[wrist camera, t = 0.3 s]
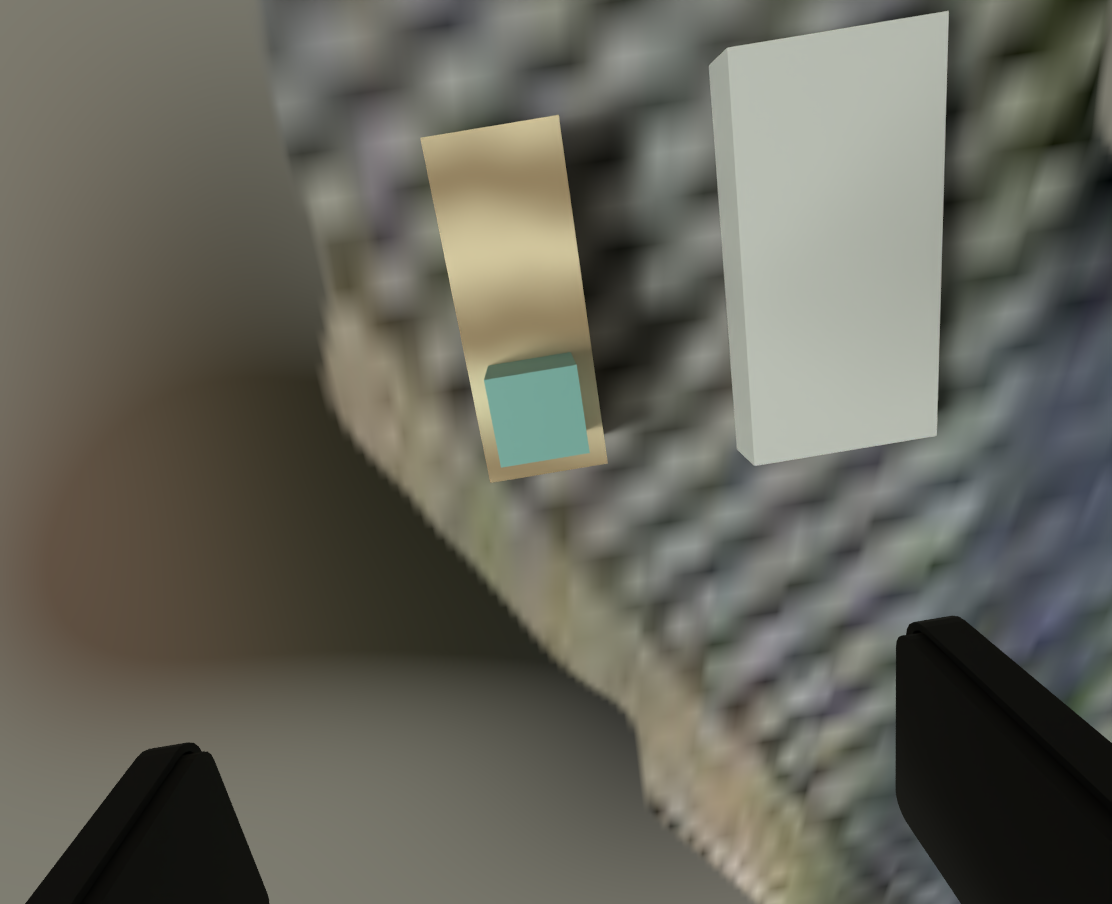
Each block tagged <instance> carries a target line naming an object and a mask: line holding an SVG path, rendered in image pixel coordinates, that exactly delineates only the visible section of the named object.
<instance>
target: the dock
mask: <svg viewBox="0 0 1112 904" xmlns="http://www.w3.org/2000/svg"><path fill="white" fill-rule="evenodd" d="M948 21H949V11H945V12H939V13H933V14H927V15H921V16H915V17H909V18H903V19H897V20H891V21H885V22H879V23H873V24H867V25H861V26H855V27H849V28H843V29H837V30H831V31H825V32H819V33H813V34H807V35H801V36H795V37H789V38H783V39H777V40H771V41H765V42H759V43H753V44H747V45H741V46H735V47H729V48H726V49H725V50H724V51H723V52H722V53H721V54H720V55H719V56H718V57H717V58H716V59H715V60H714V61H713V62H712V63H711V64H710V65H709V77H710V91H711V104H712V118H713V131H714V145H715V158H716V172H717V186H718V199H719V213H720V226H721V240H722V253H723V267H724V281H725V294H726V308H727V321H728V335H729V348H730V362H731V376H732V389H733V403H734V416H735V430H736V443H737V450H738V451H739V452H740V453H741V454H742V455H743V456H745V457H746V458H747V459H748V460H749V461H750V462H751V463H752V464H753V465H754V466H757V465H763V464H769V463H775V462H781V461H787V460H793V459H799V458H805V457H811V456H817V455H823V454H829V453H836V452H842V451H848V450H854V449H860V448H866V447H872V446H878V445H884V444H890V443H896V442H902V441H908V440H914V439H920V438H926V437H932V436H937V409H938V374H939V339H940V303H941V268H942V233H943V198H944V162H945V127H946V92H947V56H948Z"/></svg>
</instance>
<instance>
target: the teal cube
mask: <svg viewBox="0 0 1112 904" xmlns="http://www.w3.org/2000/svg"><path fill="white" fill-rule="evenodd" d="M484 383H485V389H486V394H487V399H488V404H489V409H490V414H491V419H492V424H493V429H494V434H495V440H496V445H497V450H498V455H499V460H500V465H501V468H502V467H508V466H514V465H521V464H527V463H533V462H539V461H545V460H551V459H557V458H563V457H569V456H575V455H581V454H587V453H590V451H589V444H588V437H587V431H586V424H585V417H584V411H583V404H582V397H581V391H580V384H579V377H578V370H577V364H576V362H575V360H574V358H573V356H572V354H571V352H567V353H561V354H555V355H549V356H543V357H537V358H531V359H525V360H519V361H513V362H507V363H501V364H495V365H489V366H488V368H487V371H486V375H485V378H484Z"/></svg>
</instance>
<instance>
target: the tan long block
mask: <svg viewBox="0 0 1112 904" xmlns="http://www.w3.org/2000/svg"><path fill="white" fill-rule="evenodd" d="M421 143H422V148H423V153H424V158H425V163H426V168H427V173H428V177H429V182H430V187H431V192H432V197H433V202H434V207H435V212H436V217H437V222H438V227H439V232H440V237H441V241H442V246H443V251H444V256H445V261H446V266H447V271H448V276H449V281H450V286H451V291H452V296H453V301H454V305H455V310H456V315H457V320H458V325H459V330H460V335H461V340H462V345H463V350H464V355H465V360H466V365H467V369H468V374H469V379H470V384H471V389H472V394H473V399H474V404H475V409H476V414H477V419H478V424H479V429H480V433H481V438H482V443H483V448H484V453H485V458H486V463H487V468H488V473H489V478H490V483H492V482H498V481H504V480H510V479H516V478H522V477H528V476H534V475H540V474H546V473H552V472H558V471H564V470H570V469H576V468H582V467H588V466H594V465H600V464H606V463H608V462H607V455H606V448H605V441H604V434H603V427H602V420H601V413H600V405H599V398H598V391H597V384H596V377H595V370H594V363H593V356H592V349H591V342H590V334H589V327H588V320H587V313H586V306H585V299H584V292H583V285H582V278H581V271H580V264H579V256H578V249H577V242H576V235H575V228H574V221H573V214H572V207H571V200H570V193H569V185H568V178H567V171H566V164H565V157H564V150H563V143H562V136H561V129H560V122H559V115H555V116H549V117H543V118H537V119H531V120H525V121H519V122H513V123H507V124H501V125H495V126H489V127H483V128H477V129H471V130H465V131H459V132H453V133H447V134H441V135H435V136H429V137H423V138H421ZM567 352H571V354H572V356H573V358H574V360H575V362H576V364H577V370H578V377H579V384H580V391H581V397H582V404H583V411H584V417H585V424H586V431H587V437H588V444H589V451H590V453H587V454H581V455H575V456H569V457H563V458H557V459H551V460H545V461H539V462H533V463H527V464H521V465H514V466H508V467H502V468H501V465H500V460H499V455H498V450H497V445H496V440H495V434H494V429H493V424H492V419H491V414H490V409H489V404H488V399H487V394H486V389H485V383H484V378H485V375H486V371H487V368H488V366H489V365H495V364H501V363H507V362H513V361H519V360H525V359H531V358H537V357H543V356H549V355H555V354H561V353H567Z"/></svg>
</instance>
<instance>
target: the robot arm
mask: <svg viewBox="0 0 1112 904" xmlns="http://www.w3.org/2000/svg"><path fill="white" fill-rule="evenodd" d="M896 797H897V801H898V804H899V807H900V810H901V812H902V814H903V817H904V819H905V820H906V822H907V824H908V825H909V827H910V828H911V830H912V831H913V833H914V834H915V836H916V837H917V839H918V840H919V842H920V843H921V845H922V846H923V848H924V849H925V851H926V852H927V854H928V855H929V857H930V858H931V860H932V861H933V862H934V864H935V865H936V867H937V868H938V870H939V871H940V873H941V874H942V876H943V877H944V879H945V880H946V882H947V883H948V885H949V886H950V888H951V889H952V891H953V892H954V894H955V895H956V897H957V898H958V900H959V901H960V903H961V904H1112V743H1111V742H1110V741H1108V740H1107V739H1106V738H1105V737H1104V736H1103V735H1101V734H1100V733H1099V732H1098V731H1097V730H1095V729H1094V728H1093V727H1092V726H1091V725H1089V724H1088V723H1087V722H1086V721H1085V720H1083V719H1082V718H1081V717H1080V716H1079V715H1077V714H1076V713H1075V712H1074V711H1073V710H1071V709H1070V708H1069V707H1068V706H1067V705H1065V704H1064V703H1063V702H1062V701H1061V700H1059V699H1058V698H1057V697H1056V696H1055V695H1053V694H1052V693H1051V692H1050V691H1049V690H1047V689H1046V688H1045V687H1044V686H1043V685H1041V684H1040V683H1039V682H1038V681H1037V680H1036V679H1034V678H1033V677H1032V676H1031V675H1030V674H1028V673H1027V672H1026V671H1025V670H1024V669H1022V668H1021V667H1020V666H1019V665H1018V664H1016V663H1015V662H1014V661H1013V660H1012V659H1010V658H1009V657H1008V656H1007V655H1006V654H1004V653H1003V652H1002V651H1001V650H1000V649H998V648H997V647H996V646H995V645H994V644H992V643H991V642H990V641H989V640H988V639H986V638H985V637H984V636H983V635H982V634H980V633H979V632H978V631H977V630H976V629H974V628H973V627H972V626H971V625H970V624H969V623H967V622H966V621H965V620H963V619H962V618H960V617H958V616H948V617H942V618H936V619H930V620H924V621H918V622H913V623H911V624H909V626H908V628H907V633H906V635H903V636H900V637H899V638H898V640H897V644H896ZM25 904H269V898H268V894H267V891H266V889H265V886H264V884H263V881H262V879H261V876H260V874H259V871H258V869H257V866H256V864H255V862H254V859H253V856H252V854H251V851H250V849H249V846H248V844H247V841H246V839H245V836H244V834H243V831H242V829H241V826H240V824H239V821H238V819H237V816H236V813H235V811H234V808H233V806H232V803H231V801H230V798H229V796H228V793H227V791H226V788H225V786H224V783H223V781H222V778H221V776H220V773H219V771H218V768H217V766H216V763H215V761H214V759H213V757H212V755H211V754H210V753H208V752H202V751H201V750H200V748H199V746H197V745H196V744H195V743H182V744H176V745H170V746H164V747H158V748H152V749H148V750H146V751H144V752H142V753H141V754H140V755H139V756H138V757H137V758H136V759H135V761H134V762H133V763H132V765H131V766H130V767H129V768H128V770H127V771H126V772H125V774H124V775H123V777H122V778H121V779H120V780H119V782H118V783H117V784H116V785H115V787H114V788H113V789H112V791H111V792H110V793H109V795H108V796H107V797H106V799H105V800H104V801H103V803H102V804H101V805H100V807H99V808H98V809H97V810H96V812H95V813H94V814H93V816H92V817H91V818H90V820H89V821H88V822H87V824H86V825H85V826H84V827H83V829H82V830H81V831H80V833H79V834H78V835H77V837H76V838H75V839H74V841H73V842H72V843H71V845H70V846H69V847H68V848H67V850H66V851H65V852H64V854H63V855H62V856H61V858H60V859H59V860H58V861H57V863H56V864H55V865H54V867H53V868H52V869H51V871H50V872H49V873H48V875H47V876H46V877H45V879H44V880H43V881H42V882H41V884H40V885H39V886H38V888H37V889H36V890H35V892H34V893H33V894H32V896H31V897H30V898H29V900H28V901H27V902H26V903H25Z"/></svg>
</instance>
